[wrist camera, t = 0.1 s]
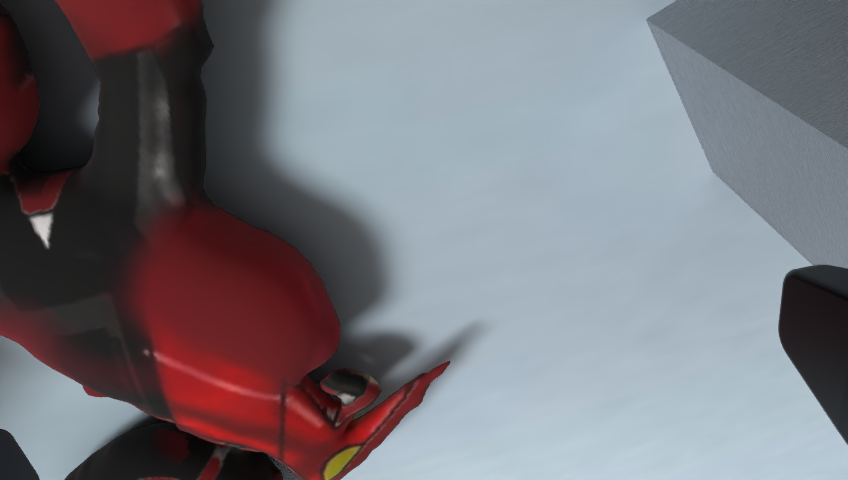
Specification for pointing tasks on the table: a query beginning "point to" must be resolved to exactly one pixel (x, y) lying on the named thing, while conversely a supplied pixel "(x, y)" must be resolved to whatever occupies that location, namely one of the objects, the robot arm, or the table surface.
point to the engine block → (769, 108)
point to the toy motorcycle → (170, 274)
